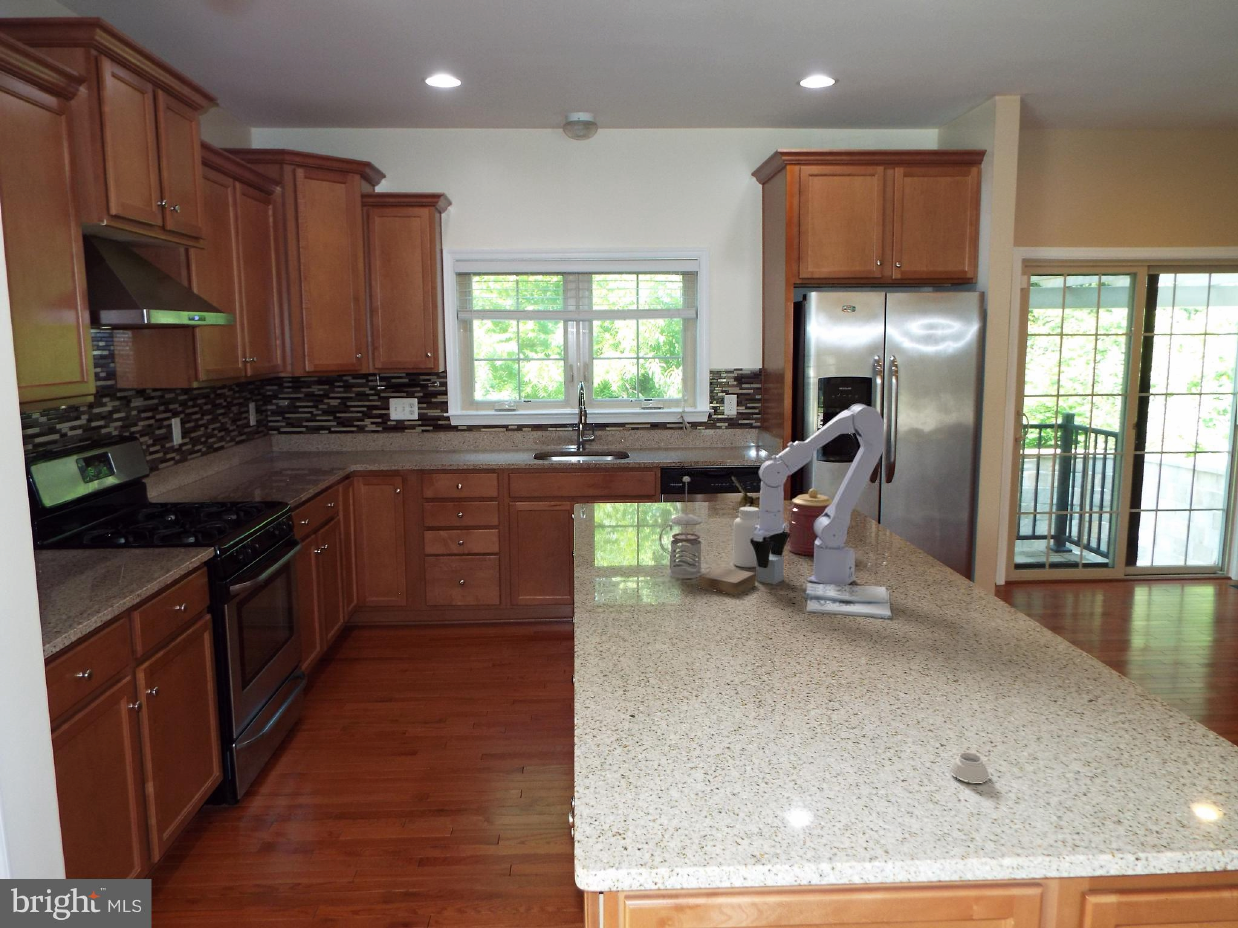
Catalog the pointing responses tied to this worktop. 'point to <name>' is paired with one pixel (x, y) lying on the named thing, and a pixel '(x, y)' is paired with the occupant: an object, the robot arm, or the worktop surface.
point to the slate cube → (771, 570)
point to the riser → (727, 580)
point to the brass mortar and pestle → (747, 498)
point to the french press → (684, 547)
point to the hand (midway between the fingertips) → (769, 563)
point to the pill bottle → (745, 537)
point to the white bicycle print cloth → (848, 600)
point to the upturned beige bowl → (970, 767)
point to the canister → (805, 521)
